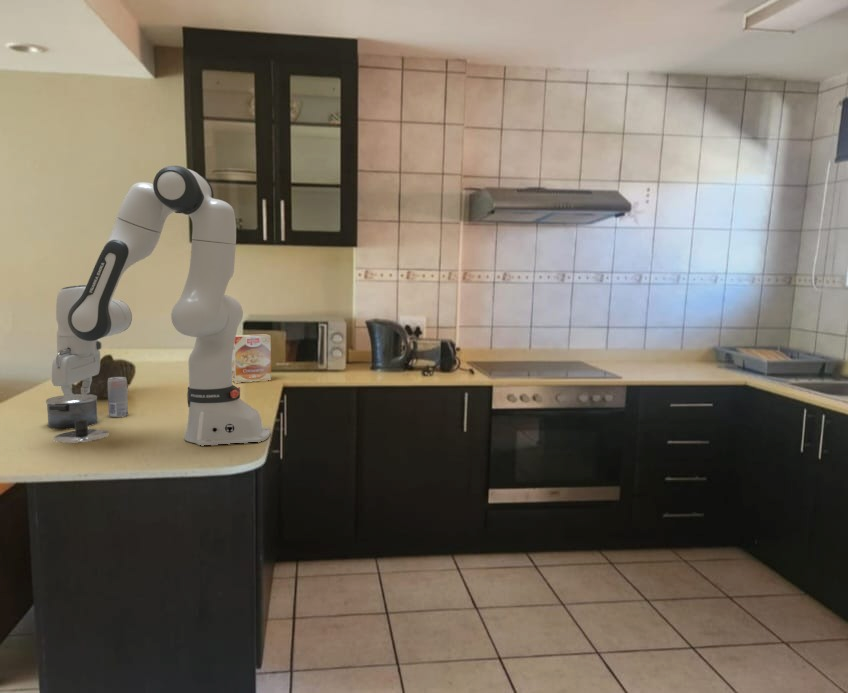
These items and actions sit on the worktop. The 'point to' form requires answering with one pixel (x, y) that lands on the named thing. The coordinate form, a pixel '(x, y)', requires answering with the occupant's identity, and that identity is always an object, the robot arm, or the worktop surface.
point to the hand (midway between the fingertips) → (77, 396)
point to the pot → (71, 410)
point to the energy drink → (117, 396)
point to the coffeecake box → (251, 358)
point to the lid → (81, 433)
